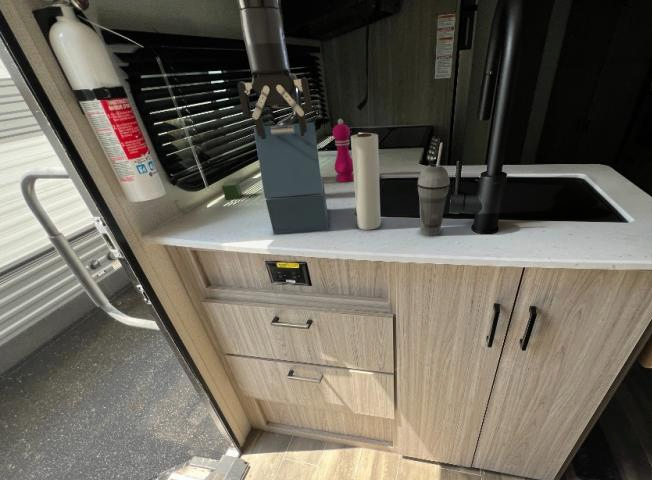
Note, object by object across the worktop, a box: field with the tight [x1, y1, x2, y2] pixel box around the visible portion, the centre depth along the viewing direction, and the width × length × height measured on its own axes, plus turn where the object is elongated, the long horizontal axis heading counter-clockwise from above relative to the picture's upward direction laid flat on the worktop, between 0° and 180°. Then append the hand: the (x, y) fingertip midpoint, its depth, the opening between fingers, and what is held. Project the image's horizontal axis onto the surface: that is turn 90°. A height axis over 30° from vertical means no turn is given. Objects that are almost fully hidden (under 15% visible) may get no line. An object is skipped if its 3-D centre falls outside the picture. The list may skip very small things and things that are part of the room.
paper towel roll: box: [350, 132, 382, 231], centre depth 77 cm, size 7×6×21 cm
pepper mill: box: [332, 118, 354, 183], centre depth 113 cm, size 7×7×20 cm
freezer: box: [265, 178, 329, 235], centre depth 85 cm, size 15×14×9 cm
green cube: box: [221, 180, 243, 200], centre depth 108 cm, size 4×4×4 cm
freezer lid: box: [253, 122, 323, 199], centre depth 73 cm, size 16×14×5 cm
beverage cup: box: [416, 142, 451, 237], centre depth 72 cm, size 7×7×20 cm
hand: (283, 137), depth 70 cm, fingers open, 8 cm apart
